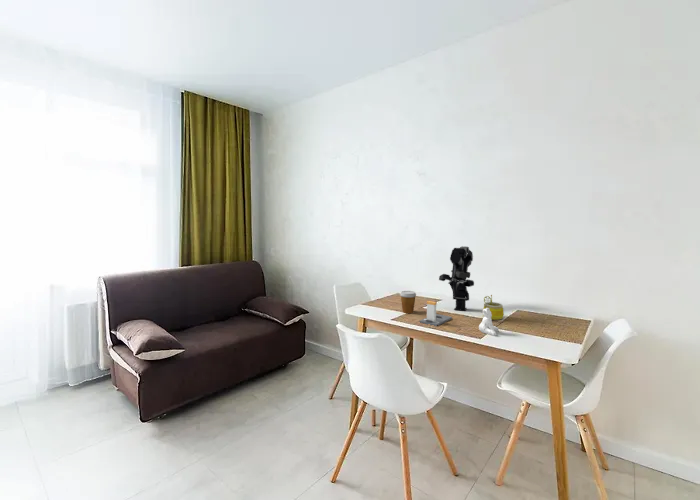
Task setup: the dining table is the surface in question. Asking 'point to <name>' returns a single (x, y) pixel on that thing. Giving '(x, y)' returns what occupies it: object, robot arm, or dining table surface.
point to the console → (439, 320)
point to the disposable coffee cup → (408, 301)
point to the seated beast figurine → (488, 323)
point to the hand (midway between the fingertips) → (454, 295)
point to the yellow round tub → (494, 309)
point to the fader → (431, 310)
